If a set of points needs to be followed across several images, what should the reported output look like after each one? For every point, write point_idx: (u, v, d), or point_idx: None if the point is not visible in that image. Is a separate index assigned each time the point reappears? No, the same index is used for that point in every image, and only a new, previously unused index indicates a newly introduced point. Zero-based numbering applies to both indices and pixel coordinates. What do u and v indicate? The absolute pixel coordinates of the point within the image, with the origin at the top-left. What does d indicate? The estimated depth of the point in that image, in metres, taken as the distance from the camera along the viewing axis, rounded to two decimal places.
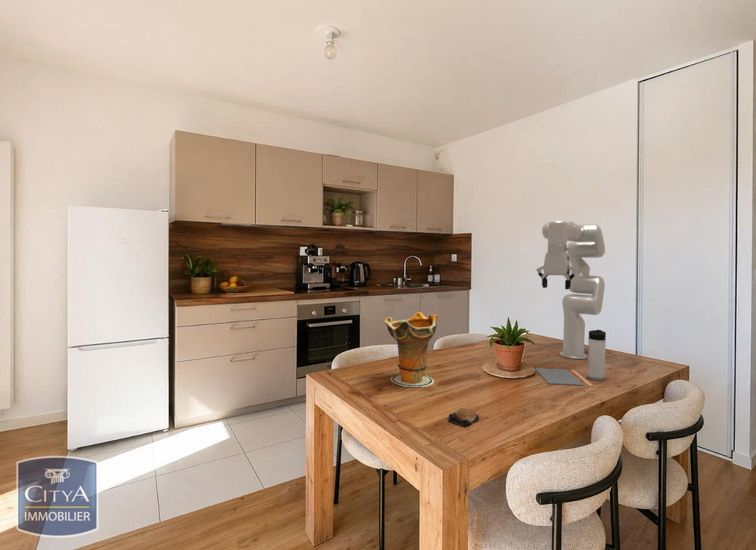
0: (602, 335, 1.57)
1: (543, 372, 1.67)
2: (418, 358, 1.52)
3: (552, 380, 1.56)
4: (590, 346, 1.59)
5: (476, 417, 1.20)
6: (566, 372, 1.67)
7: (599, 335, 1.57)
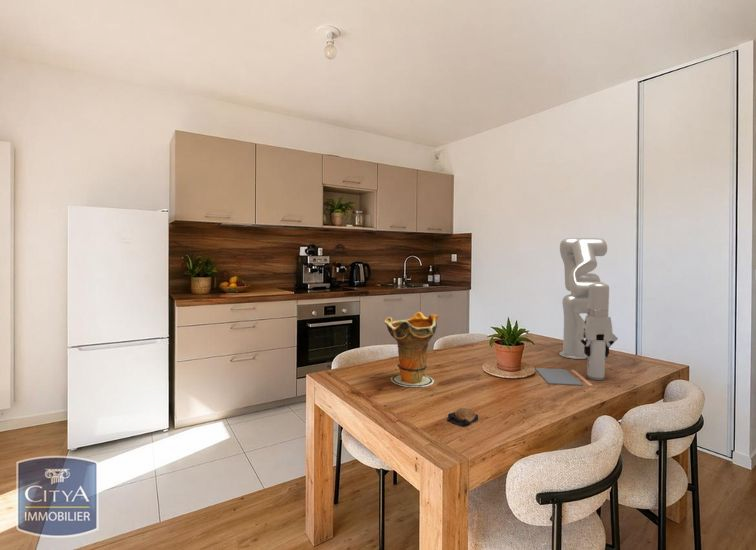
0: (602, 335, 1.57)
1: (543, 372, 1.67)
2: (418, 358, 1.52)
3: (552, 380, 1.56)
4: (590, 346, 1.59)
5: (475, 417, 1.20)
6: (566, 372, 1.67)
7: (599, 335, 1.57)
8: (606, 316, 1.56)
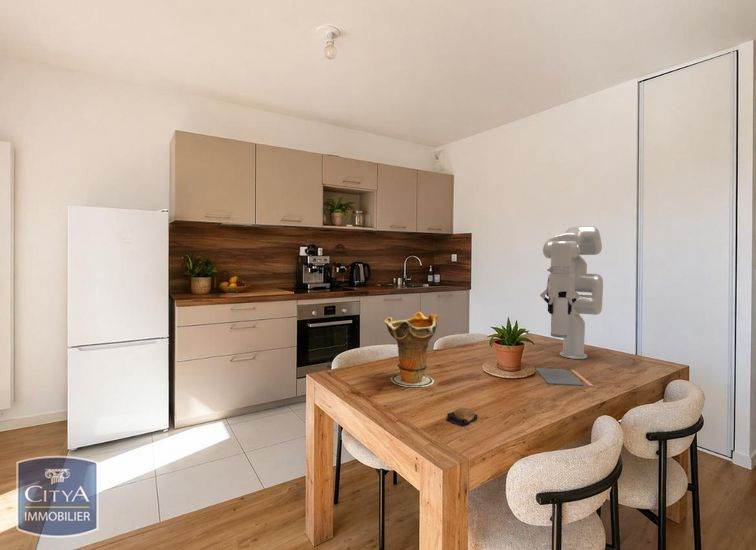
0: (564, 292, 1.57)
1: (543, 372, 1.67)
2: (418, 358, 1.52)
3: (552, 380, 1.56)
4: (553, 304, 1.60)
5: (474, 416, 1.20)
6: (566, 372, 1.67)
7: (561, 292, 1.57)
8: (568, 273, 1.56)
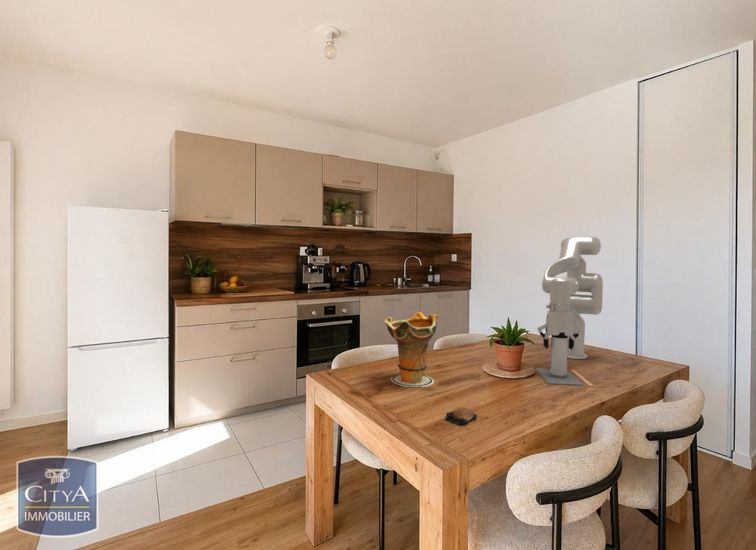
0: (564, 333, 1.58)
1: (543, 372, 1.67)
2: (418, 358, 1.52)
3: (552, 380, 1.56)
4: (552, 344, 1.61)
5: (473, 416, 1.20)
6: None
7: (561, 333, 1.58)
8: (567, 311, 1.57)
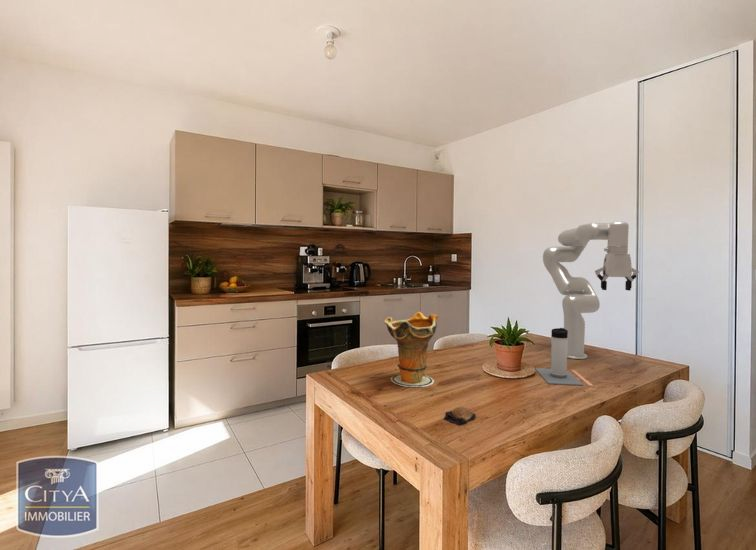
0: (564, 333, 1.58)
1: (543, 372, 1.67)
2: (418, 358, 1.52)
3: (552, 380, 1.56)
4: (552, 344, 1.61)
5: (472, 416, 1.21)
6: None
7: (561, 333, 1.58)
8: (626, 252, 1.63)
